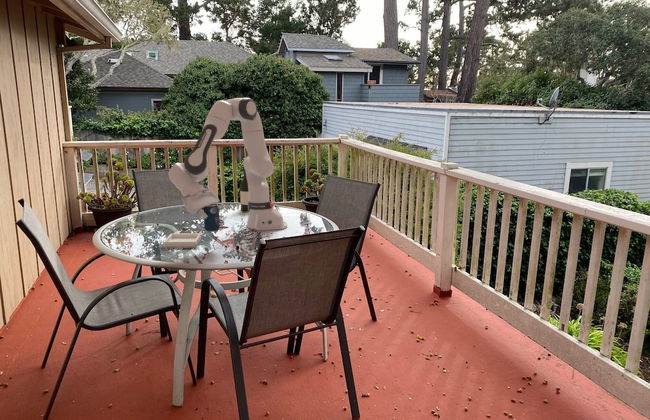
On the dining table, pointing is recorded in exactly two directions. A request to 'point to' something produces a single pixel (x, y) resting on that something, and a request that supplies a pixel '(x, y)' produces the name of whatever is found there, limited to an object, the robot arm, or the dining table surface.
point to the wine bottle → (244, 193)
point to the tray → (182, 240)
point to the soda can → (212, 218)
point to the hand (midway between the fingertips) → (212, 215)
